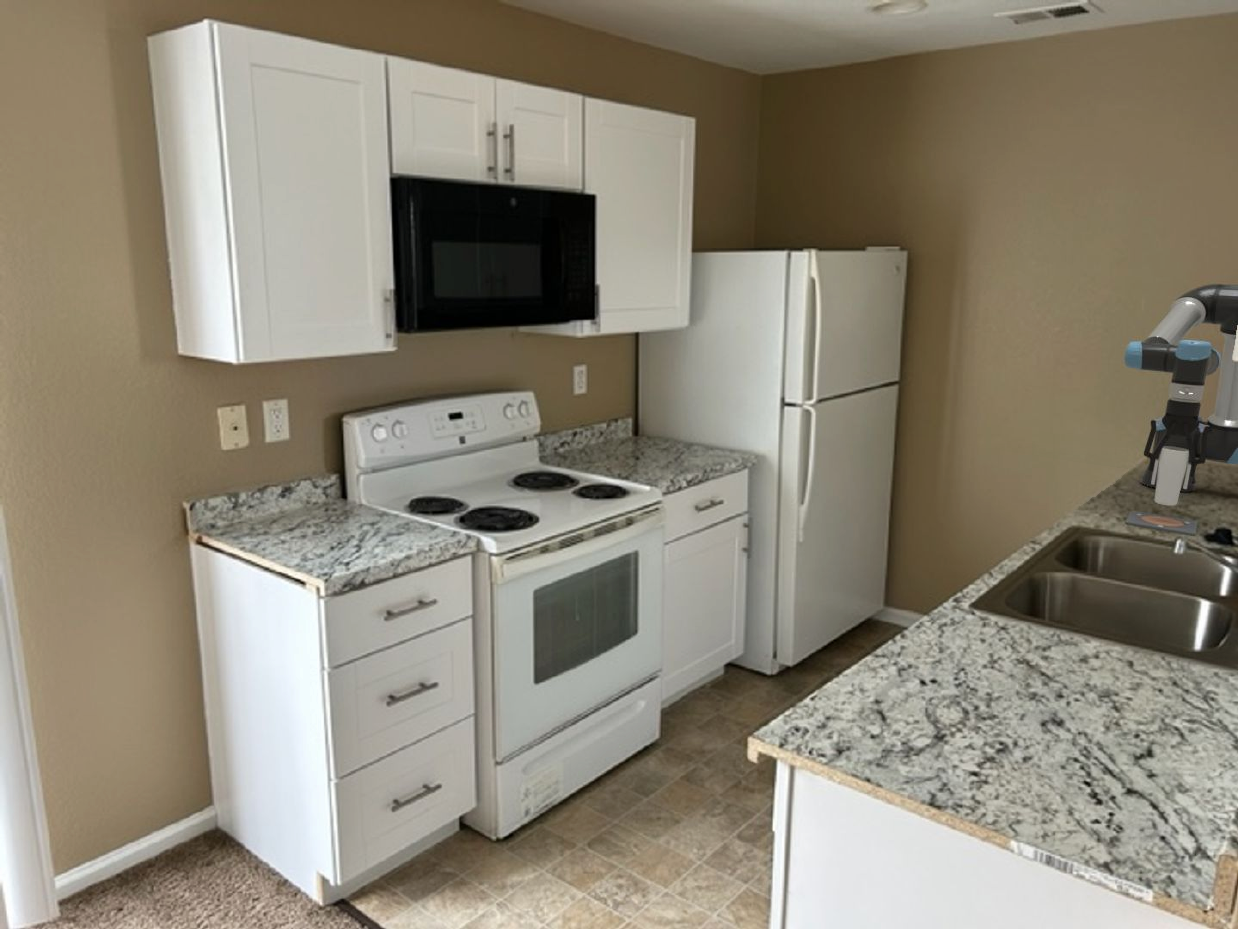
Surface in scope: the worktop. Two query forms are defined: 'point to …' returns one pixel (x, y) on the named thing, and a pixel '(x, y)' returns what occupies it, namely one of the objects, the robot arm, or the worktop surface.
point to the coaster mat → (1162, 523)
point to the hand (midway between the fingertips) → (1168, 485)
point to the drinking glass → (1170, 474)
